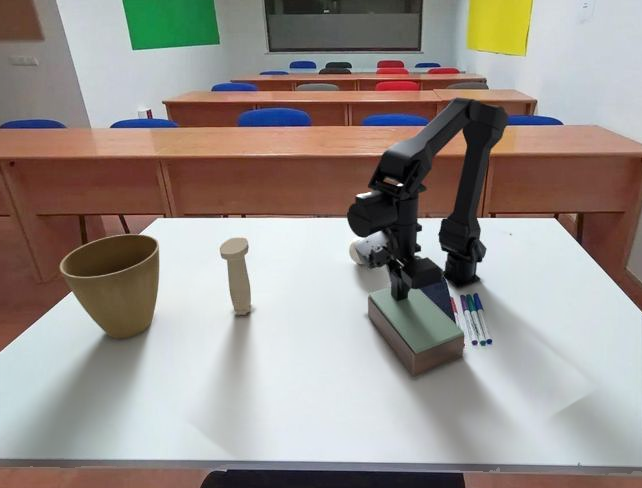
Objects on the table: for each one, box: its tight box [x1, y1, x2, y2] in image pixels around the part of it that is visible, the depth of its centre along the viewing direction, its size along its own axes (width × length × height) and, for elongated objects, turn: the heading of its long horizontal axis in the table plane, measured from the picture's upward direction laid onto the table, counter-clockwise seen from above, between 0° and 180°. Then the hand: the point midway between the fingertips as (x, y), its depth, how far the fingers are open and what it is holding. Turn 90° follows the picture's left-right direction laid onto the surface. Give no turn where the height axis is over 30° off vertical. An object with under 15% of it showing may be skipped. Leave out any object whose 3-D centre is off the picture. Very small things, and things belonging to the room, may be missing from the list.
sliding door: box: [368, 272, 465, 354], centre depth 71 cm, size 10×17×6 cm, turn 27°
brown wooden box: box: [367, 296, 466, 377], centre depth 72 cm, size 10×17×4 cm, turn 27°
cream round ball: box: [348, 236, 364, 265], centre depth 96 cm, size 7×7×7 cm
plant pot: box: [59, 233, 160, 340], centre depth 73 cm, size 15×15×16 cm
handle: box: [219, 237, 252, 316], centre depth 77 cm, size 5×6×15 cm
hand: (399, 292), depth 75 cm, fingers closed on sliding door, 2 cm apart
